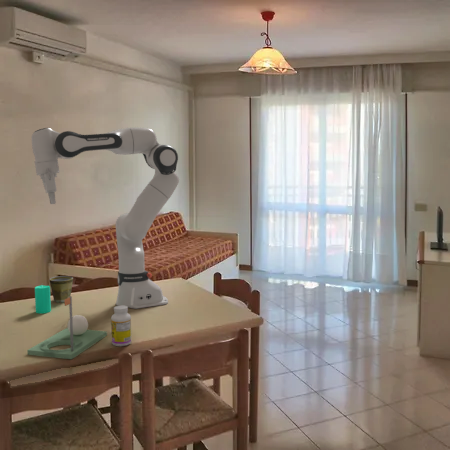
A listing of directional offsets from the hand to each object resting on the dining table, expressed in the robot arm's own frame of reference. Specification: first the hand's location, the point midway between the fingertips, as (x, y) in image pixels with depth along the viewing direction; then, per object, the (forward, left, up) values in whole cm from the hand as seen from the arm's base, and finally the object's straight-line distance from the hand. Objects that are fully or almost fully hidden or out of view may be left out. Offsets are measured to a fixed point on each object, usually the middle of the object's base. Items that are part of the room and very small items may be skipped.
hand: (53, 203), depth 219 cm
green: (-2, +41, -45) cm, 61 cm away
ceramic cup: (-3, -21, -45) cm, 50 cm away
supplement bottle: (-19, +46, -45) cm, 67 cm away
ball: (-5, +37, -40) cm, 54 cm away
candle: (+5, -4, -45) cm, 45 cm away
